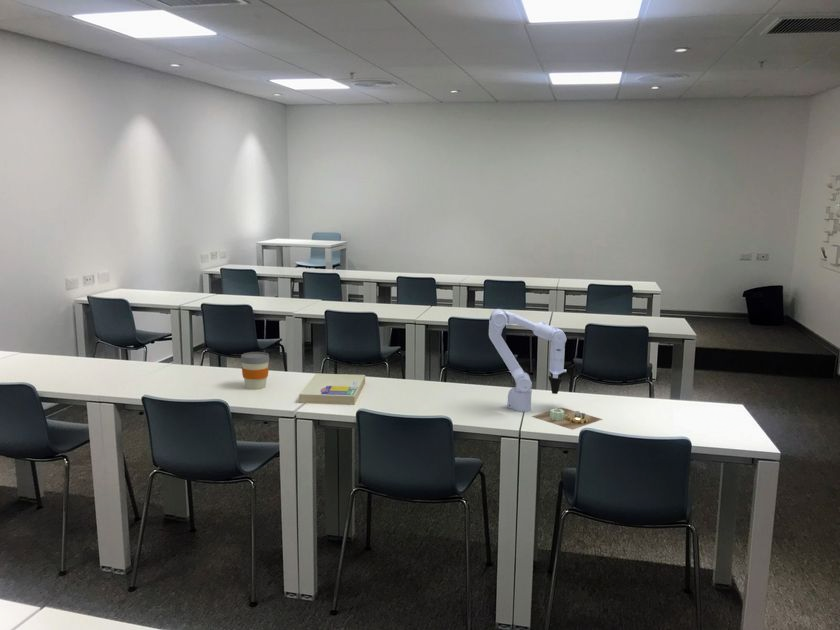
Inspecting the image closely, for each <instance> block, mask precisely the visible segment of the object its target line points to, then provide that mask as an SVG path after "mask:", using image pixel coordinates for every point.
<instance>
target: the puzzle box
mask: <svg viewBox="0 0 840 630" xmlns="http://www.w3.org/2000/svg"><path fill="white" fill-rule="evenodd" d="M365 384H366V375H365V374H348V373H347V374H346V373H345V374H344V373H343V374H341V373H339V374H338V373H315V374H314V375H313V377H312V378H311V379H310V380H309V382H308V383H307V384H306V385H305V386H304V388H303V389H302V390H301V391H300V393H299V394H298V395H299V400H298V401H299V404H311V405H313V404H315V405H317V404H319V405H341V406H343V405H347V406H350V405H351V406H355V405H356V402H357V401H358V399H359V397H360V395H361V393H362V390H363V388H364V387H365Z"/></svg>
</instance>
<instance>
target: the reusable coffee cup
mask: <svg viewBox="0 0 840 630" xmlns="http://www.w3.org/2000/svg"><path fill="white" fill-rule="evenodd" d="M240 356H241V357H240V362H241V365H242V366H241V373H242V377H243V379H244V387H245V389H247V390H251V391H252V390H253V391H254V390H255V391H256V390H263V389H265V388H266V386H267V380H268V376H269V369H270V368H269V367H270V366H269V362H270V356H269V353H267V352H263V351H262V352H261V351H250V352H244V353H243V354H241V355H240Z"/></svg>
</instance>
